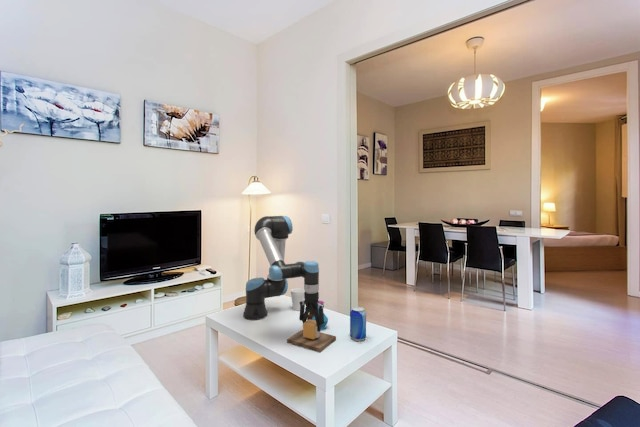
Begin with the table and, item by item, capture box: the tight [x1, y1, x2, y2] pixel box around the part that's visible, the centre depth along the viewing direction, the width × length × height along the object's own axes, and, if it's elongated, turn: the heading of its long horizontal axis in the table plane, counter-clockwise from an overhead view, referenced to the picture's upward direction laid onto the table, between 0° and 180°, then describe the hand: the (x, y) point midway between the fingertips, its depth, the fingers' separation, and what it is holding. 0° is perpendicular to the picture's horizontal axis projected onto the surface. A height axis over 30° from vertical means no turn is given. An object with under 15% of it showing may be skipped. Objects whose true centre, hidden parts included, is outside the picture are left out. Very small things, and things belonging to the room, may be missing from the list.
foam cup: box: [290, 287, 305, 312], centre depth 210 cm, size 10×9×13 cm
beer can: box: [349, 306, 367, 342], centre depth 165 cm, size 8×8×16 cm
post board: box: [286, 329, 337, 353], centre depth 161 cm, size 20×16×9 cm
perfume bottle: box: [312, 300, 329, 331], centre depth 179 cm, size 9×9×15 cm
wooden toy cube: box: [302, 319, 321, 340], centre depth 161 cm, size 6×6×7 cm
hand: (311, 335), depth 161 cm, fingers closed on wooden toy cube, 6 cm apart
